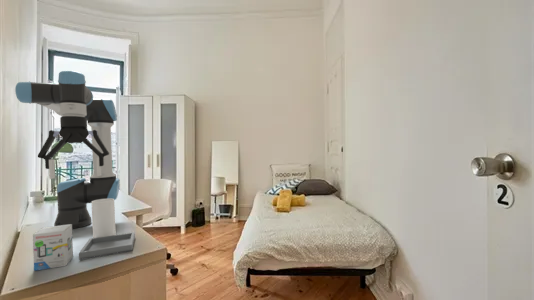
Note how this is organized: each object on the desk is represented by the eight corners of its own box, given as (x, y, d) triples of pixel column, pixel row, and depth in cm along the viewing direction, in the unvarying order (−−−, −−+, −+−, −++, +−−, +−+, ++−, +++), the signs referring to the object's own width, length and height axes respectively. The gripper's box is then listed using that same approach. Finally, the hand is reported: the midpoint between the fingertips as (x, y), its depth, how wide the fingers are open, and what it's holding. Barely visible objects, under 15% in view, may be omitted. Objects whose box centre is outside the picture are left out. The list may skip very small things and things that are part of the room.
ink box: (33, 271, 82) (31, 234, 82) (43, 261, 89) (42, 227, 89) (66, 265, 85) (65, 230, 85) (73, 256, 93) (72, 223, 93)
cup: (105, 241, 107) (103, 202, 107) (88, 240, 109) (86, 202, 108) (120, 234, 115) (118, 198, 115) (104, 234, 117) (102, 198, 116)
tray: (89, 244, 104) (89, 238, 104) (134, 237, 110) (134, 232, 110) (79, 259, 89) (78, 253, 89) (131, 251, 95) (131, 244, 95)
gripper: (23, 114, 83) (26, 181, 84) (113, 115, 93) (115, 175, 94) (33, 117, 90) (35, 178, 91) (115, 118, 100) (118, 173, 100)
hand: (76, 177), depth 92 cm, fingers open, 13 cm apart
